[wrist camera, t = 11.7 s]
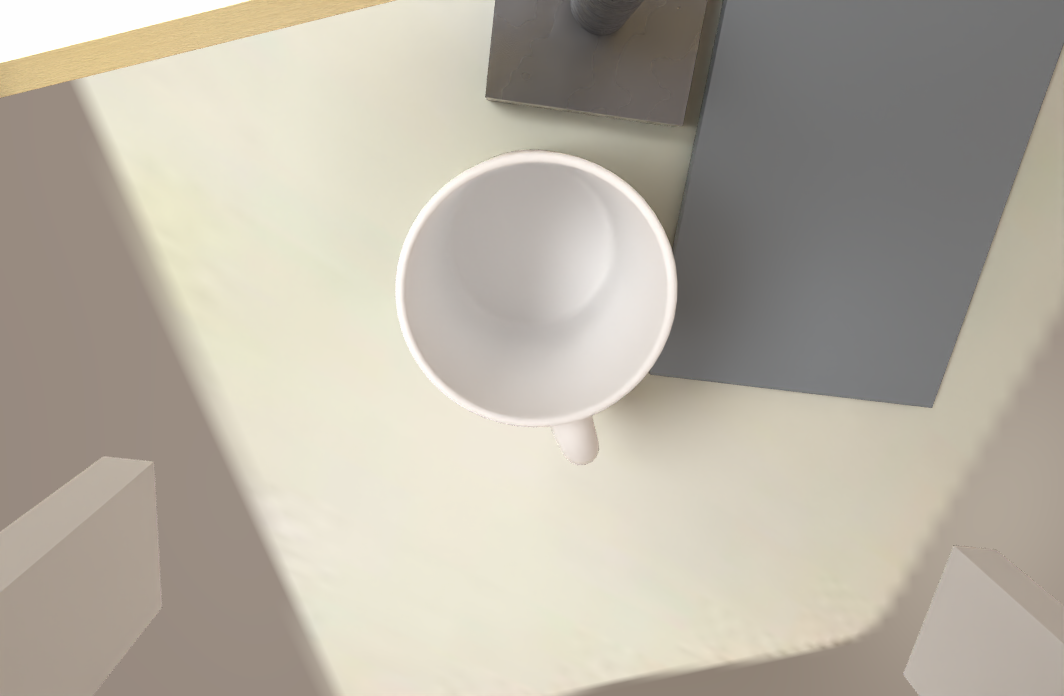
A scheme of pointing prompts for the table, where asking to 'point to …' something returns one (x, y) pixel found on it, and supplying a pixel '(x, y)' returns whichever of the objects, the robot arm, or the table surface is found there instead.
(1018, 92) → the felt mat
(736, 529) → the table surface
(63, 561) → the robot arm
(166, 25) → the lever
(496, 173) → the mug
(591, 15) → the lever post
